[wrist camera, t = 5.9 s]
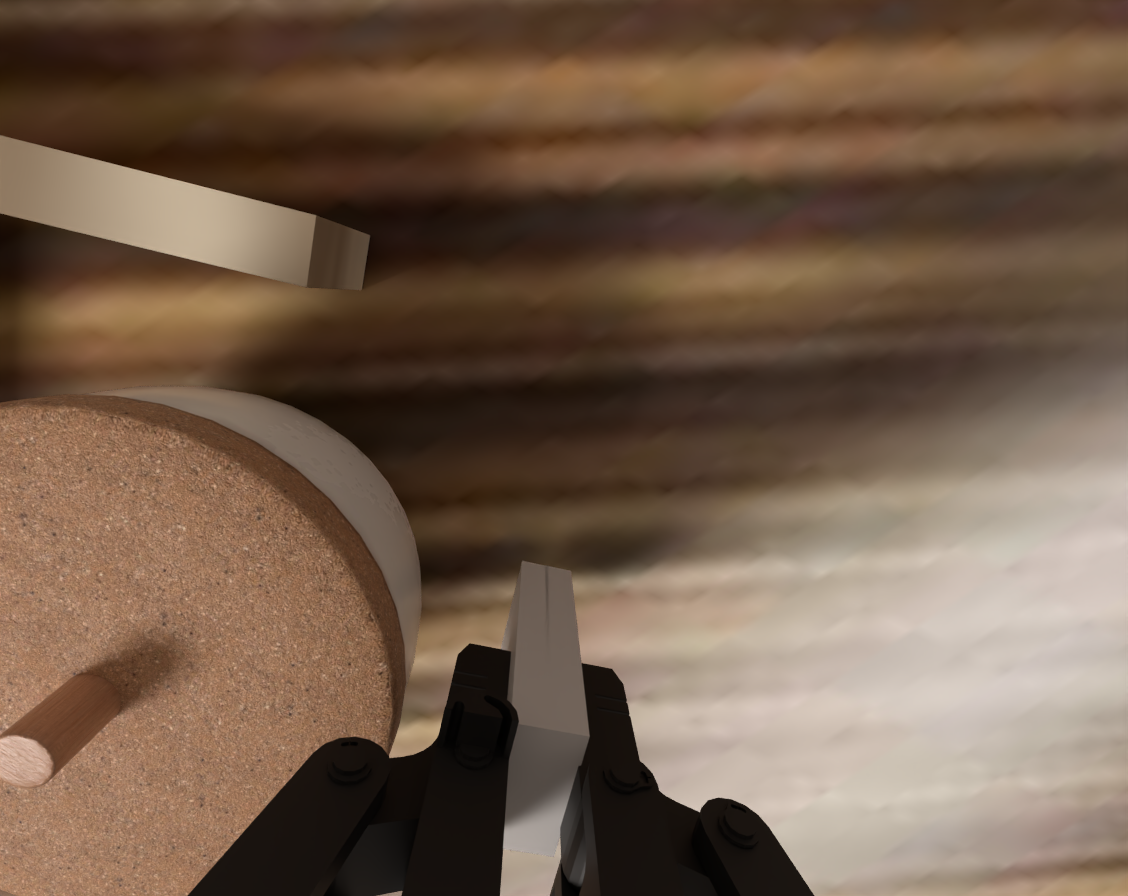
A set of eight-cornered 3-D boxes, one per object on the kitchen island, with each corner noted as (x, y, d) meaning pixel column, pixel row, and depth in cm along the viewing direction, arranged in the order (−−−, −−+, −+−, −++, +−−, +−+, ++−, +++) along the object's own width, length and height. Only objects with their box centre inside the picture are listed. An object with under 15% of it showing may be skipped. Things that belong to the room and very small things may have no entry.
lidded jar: (236, 276, 16) (-148, 246, 7) (526, 517, 18) (510, 731, 9) (30, 544, 18) (-488, 794, 9) (316, 739, 20) (130, 1102, 11)
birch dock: (370, 235, 16) (315, 215, 12) (286, 770, 20) (226, 882, 16) (-119, 111, 15) (-348, 47, 11) (-102, 705, 19) (-265, 807, 15)
